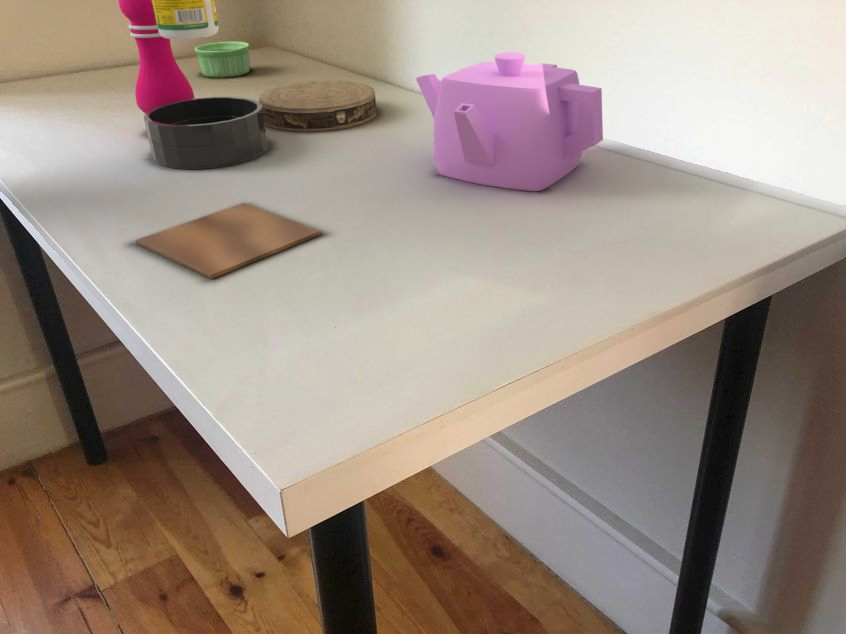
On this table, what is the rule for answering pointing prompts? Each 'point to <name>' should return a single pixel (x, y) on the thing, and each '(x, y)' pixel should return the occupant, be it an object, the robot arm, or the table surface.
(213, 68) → the ramekin
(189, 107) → the pan
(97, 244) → the table surface
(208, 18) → the supplement bottle
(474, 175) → the teakettle
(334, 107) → the wood slice
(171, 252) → the mat
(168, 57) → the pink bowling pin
